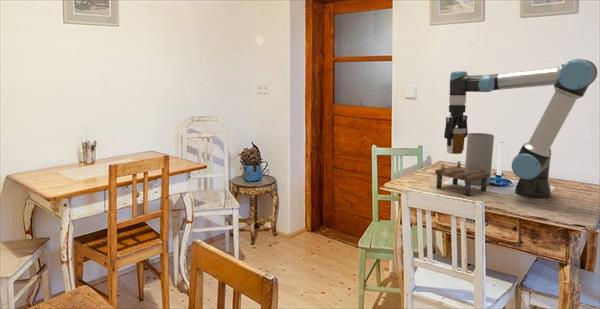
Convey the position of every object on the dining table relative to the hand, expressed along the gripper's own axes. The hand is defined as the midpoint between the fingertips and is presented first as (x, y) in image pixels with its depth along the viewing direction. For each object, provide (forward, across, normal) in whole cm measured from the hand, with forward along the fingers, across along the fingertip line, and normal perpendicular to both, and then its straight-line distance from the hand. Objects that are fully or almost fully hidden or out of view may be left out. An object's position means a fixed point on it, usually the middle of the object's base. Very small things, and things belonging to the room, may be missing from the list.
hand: (455, 151), depth 229 cm
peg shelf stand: (+19, -1, +3) cm, 19 cm away
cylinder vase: (+19, -19, 0) cm, 27 cm away
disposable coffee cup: (+1, 0, 0) cm, 1 cm away
